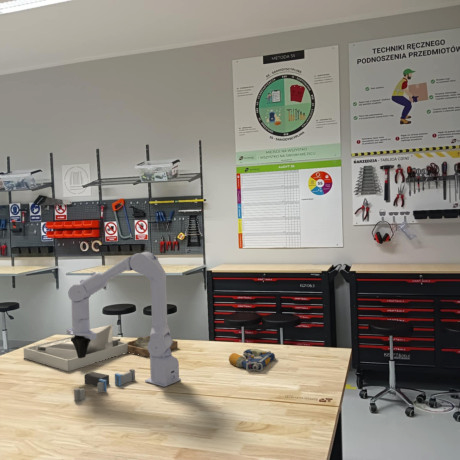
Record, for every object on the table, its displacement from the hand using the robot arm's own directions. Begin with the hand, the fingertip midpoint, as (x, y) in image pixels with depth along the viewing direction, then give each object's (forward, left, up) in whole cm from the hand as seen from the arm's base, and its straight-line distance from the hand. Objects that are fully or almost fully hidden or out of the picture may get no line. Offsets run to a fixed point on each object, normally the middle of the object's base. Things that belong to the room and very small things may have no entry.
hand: (81, 357), depth 156 cm
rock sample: (+6, -37, -8) cm, 38 cm away
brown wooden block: (+7, -38, -8) cm, 39 cm away
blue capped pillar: (-16, +2, -8) cm, 17 cm away
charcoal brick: (-8, 0, -8) cm, 11 cm away
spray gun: (-39, -46, -8) cm, 61 cm away
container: (+26, -17, -7) cm, 32 cm away
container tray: (+27, -16, -8) cm, 33 cm away
